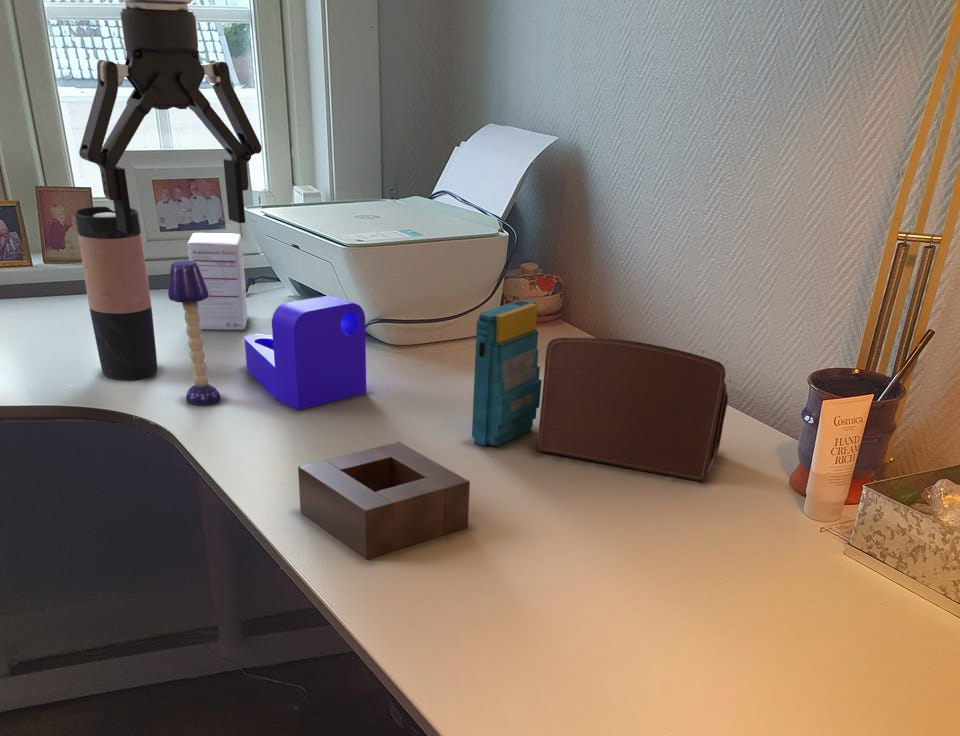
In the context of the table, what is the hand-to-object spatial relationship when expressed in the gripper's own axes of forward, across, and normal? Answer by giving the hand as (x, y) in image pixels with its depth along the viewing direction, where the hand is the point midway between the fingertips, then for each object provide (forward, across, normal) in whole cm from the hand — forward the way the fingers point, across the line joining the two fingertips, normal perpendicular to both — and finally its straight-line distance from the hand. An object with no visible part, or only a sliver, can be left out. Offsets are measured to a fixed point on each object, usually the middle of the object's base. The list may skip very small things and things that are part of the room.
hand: (183, 226), depth 114 cm
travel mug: (+21, -3, +15) cm, 26 cm away
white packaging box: (+21, +18, +30) cm, 41 cm away
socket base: (+21, 0, -41) cm, 46 cm away
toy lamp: (+21, 0, 0) cm, 21 cm away
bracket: (+21, +13, 0) cm, 24 cm away
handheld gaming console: (+21, +25, -30) cm, 44 cm away
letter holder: (+21, +34, -42) cm, 58 cm away
